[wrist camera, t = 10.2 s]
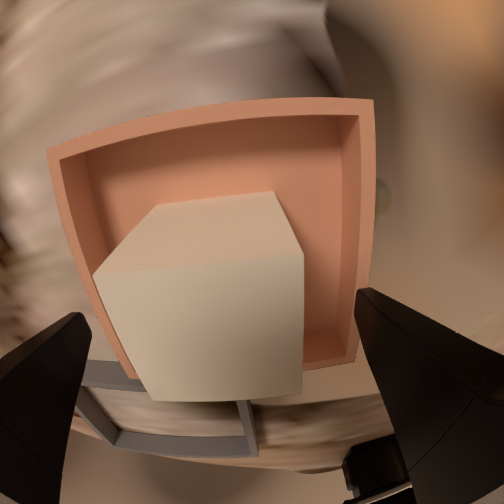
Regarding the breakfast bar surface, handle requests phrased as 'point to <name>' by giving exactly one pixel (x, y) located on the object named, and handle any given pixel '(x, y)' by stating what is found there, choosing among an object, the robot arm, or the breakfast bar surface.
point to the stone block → (210, 299)
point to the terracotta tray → (235, 183)
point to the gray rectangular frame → (198, 447)
